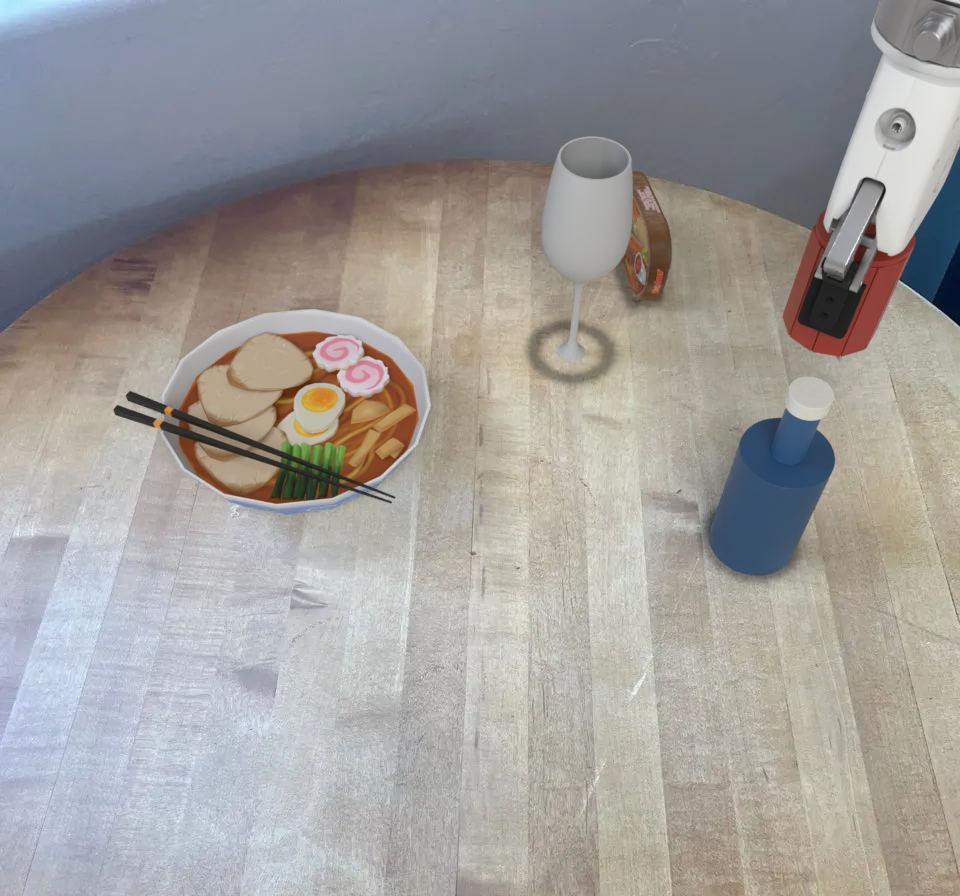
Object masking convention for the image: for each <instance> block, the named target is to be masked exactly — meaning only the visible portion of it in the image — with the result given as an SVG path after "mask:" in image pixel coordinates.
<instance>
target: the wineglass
mask: <svg viewBox="0 0 960 896" xmlns="http://www.w3.org/2000/svg"><path fill="white" fill-rule="evenodd" d="M555 158H556V159H555V162H554V165H553V168H552V172H551V175H550V179H549V183H548V188H547V192H546V196H545V201H544V206H543V211H542V218H541V231H540V232H541V233H540V235H541V245H542V249H543V252H544V255H545V257H546V260H547V261H548V262H549V264H550V265H551V266H552V267H553V269H554V270H555V271H556V272H557V273H558V274H559V275H560V276H562V277H563V278H565V279H567V280H568V281H570V282H572V283H573V289H574V290H573V291H574V293H573V303H572V309H571V311H572V312H571V319H570V328H569V336H568V340H567V341H566V342H563V343H561V344H560V345H559V346H558V347H557V350H556V352H557V353H556V354H557V355H558V357H559V358H561V359H562V360H563V361H565V362H569V363H574V362H580V361H581V360H582V359H584V357H585V356H586V349H585V347H584V346H583V344H580V343H578V333H579V323H580V317H581V316H580V315H581V308H582V300H583V292H584V288H585V286H586V285H587V284H590V283H593V282H595V281H597V280H598V281H599V280H600V279H602V278H603V277H605V276H607V275H608V274H609V273H611V272H612V271H613V270H615V269H616V268H617V267H618V266H619V264H620V262H621V259H622V258H623V256H624V255H625V252H626V250H627V247H628V243H629V240H630V235H631V229H632V211H633V174H632V171H633V161H632V156H631V154H630V152H629V150H628V149H627V148H626V147H625V146H624V145H622V144H621V143H620V142H617V141H615V140H613V139H611V138H606V137H603V136H583V137H577V138H574V139H571V140H569V141H568V142H566V143H564V145H562V146H561V147H560V149H559V151H558V153H557V155H556V157H555Z"/></svg>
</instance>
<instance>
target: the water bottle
mask: <svg viewBox="0 0 960 896" xmlns="http://www.w3.org/2000/svg"><path fill="white" fill-rule="evenodd" d="M834 400H835V391H834V389H833V387H832V386H831V384H829V383H828V382H826V381H825V380H824V379H821V378H819V377H816V376H811V375H810V376H809V375H808V376H806V375H805V376H800V377H797V378H795V379H793V380H792V381H791V382H790V384H789V386H788V389H787V391H786V394H785V396H784V406H785V409H784V411H783V413H782V416H781V417H772V418H766V419H762V420H760V421H757V422H756V423H754V424H752V425H750V426H749V427H748V428H747V429H746V430H745V431H744V433H743V434H742V436H741V437H740V440H739V443H738V446H737V449H736V451H735V455H734V458H733V461H732V464H731V466H730V470H729V473H728V475H727V478H726V480H725V484H724V487H723V490H722V493H721V496H720V499H719V502H718V505H717V508H716V511H715V514H714V516H713V519H712V522H711V525H710V528H709V533H708V541H709V546H710V548H711V550H712V553H713V554H714V555H715V557H716V558H717V559H718V560H719V561H720V562H721V563H722V564H723V565H725V566H726V567H727V568H729V569H731V570H733V571H735V572H737V573H740V574H743V575H748V576H755V577H756V576H757V577H758V576H759V577H760V576H768V575H771V574H774V573H777V572H779V571H781V570H782V569H784V568H785V567H786V566H787V565H788V564H789V563H790V561H791V560H792V557H793V556H794V553H795V551H796V550H797V547H798V545H799V543H800V541H801V539H802V536H803V534H804V532H805V530H806V528H807V526H808V524H809V522H810V520H811V517H812V516H813V514H814V511H815V509H816V507H817V505H818V502H819V500H820V499H821V497H822V495H823V492H824V490H825V488H826V486H827V484H828V482H829V480H830V478H831V475H832V473H833V471H834V468H835V465H836V456H835V455H836V454H835V451H834V449H833V446H832V444H831V442H830V441H829V440H828V438H827V437H826V436H825V435H824V434H823V433H822V432H821V431H819V429H818V427H819V424H820V422H821V420H822V419H823V418H825V417H826V416H827V415H828V414H829V412H830V410H831V408H832V406H833V403H834Z"/></svg>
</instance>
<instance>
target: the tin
mask: <svg viewBox="0 0 960 896" xmlns="http://www.w3.org/2000/svg"><path fill="white" fill-rule="evenodd" d="M632 174H633V211H632V229H631V235H630V240H629V243H628V247H627V250H626V252H625V255H624V256H623V258H622V259H621V261H620V262H621V265H622V268H623V270H624V272H625V274H626V278H627V280H628V282H629V285H630V287H631V291H632V293H633V294H632V297H631V301H632V302H637V301H644V300H646V301H647V300H655V299H658V298H659V297H660V296H662V295H663V293H664V289H665V286H666V283H667V279H668V275H669V271H670V268H671V265H672V264H671V263H672V256H673V255H672V254H673V253H672V252H673V251H672V250H673V248H672V246H673V244H672V236H671V231H670V227H669V223H668V221H667V219H666V216H665V214H664V212H663V210H662V208H661V204H660V203H659V201H658V199H657V196H656V194H655V192H654V190H653V188H652V186H651V184H650V181H649V179H648V177H647V176H646V175H645V174H644V173H643V172H641V171H636V170H635V171H634V170H632Z"/></svg>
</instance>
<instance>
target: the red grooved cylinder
mask: <svg viewBox="0 0 960 896" xmlns="http://www.w3.org/2000/svg"><path fill="white" fill-rule="evenodd" d="M826 210H827V207H826V208H824V209H823V210H822V211H821V213H819V215H818V217H817V220H816V222H815V223H814V225H813V226H812V229H811V232H810V234H809V237H808V240H807V244H806V246H805V250H804V252H803V255H802V258H801V261H800V264H799V266H798V270H797V273H796V275H795V279H794V281H793V284H792V287H791V289H790V293H789V296H788V299H787V301H786V305H785V307H784V309H783V310H784V311H783V313H782V320H783V323H784V326H785V329H786V332H787V335H788V336H789V338H791V339H792V340H794V341H795V342H796V343H798V344H799V345H801V346H802V347H804V348H805V349H806V350H808V351H809V352H812V353H816V354H821V355H827V356H833V357H839V358H840V357H841V358H842V357H845V356H848V355H852V354H855V353H858V352H862V351H864V350H866V349H867V348H868V346H869V344H870V343H871V341H872V339H873V337H874V336H875V335H876V332H877V330H878V327H879V326H880V323H881V321H882V319H883V317H884V315H885V312H886V311H887V308H888V306H889V303H890V301H891V299H892V297H893V295H894V292H895V290H896V288H897V285H898V283H899V282H900V279H901V277H902V274H903V272H904V270H905V267H906V265H907V264H908V261H909V260H910V257H911V254H912V253H913V250H914V248H915V244H916V234H915V233H916V232H915V233H914V235H913V237H912V238H911V240H910V241H909V243H908V244H907V246H906V247H905V249H904V250H903V251H902V252H900V253H898V254H896V255H894V256H888V253H885V252H882V251H877V253H876V255H875V257H874V260H873V262H872V264H871V266H870V268H869V270H868V273H867V275H866V277H865V279H864V281H863V283H864V284H866V285H867V286H866V289H865V291H864V293H863V296H862V298H861V301H860V303H859V305H858V308H857V310H856V312H855V315H854V317H853V320H852V322H851V324H850V327H849V329H848V331H847V333H846V335H845V336H844V338H842V339H837V338H834V337H832V336H829V335H827V334H824V333H822V332H819V331H817V330H814V329H812V328H809V327H807V326H804V325H802V324H800V323H799V322H798V315H799V313H800V310H801V307H802V304H803V302H804V299H805V296H806V293H807V291H808V288H809V285H810V282H811V279H812V277H813V274H814V271H815V269H816V268H817V266H819V263H820V261H821V259H822V256H823V254H824V252H825V249H826V247H827V245H828V242H829V240H830V238H831V235H832V233H833V230H832V231H831V232H830V233H828V232H827V231H826V229H825V227H824V223H823V222H824V217H825V213H826ZM866 232H867V233H869V234H872V235H875V236H876V225H873V224H869V226H868V228H867V230H866ZM866 250H867V248H865V247H862V246H858V248H857V250H856V253H855V255H854V259H853V262H856V263H857V268H858V267H859V265H860V263H861V261H862V258H863V256H864V254H865V252H866Z"/></svg>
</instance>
